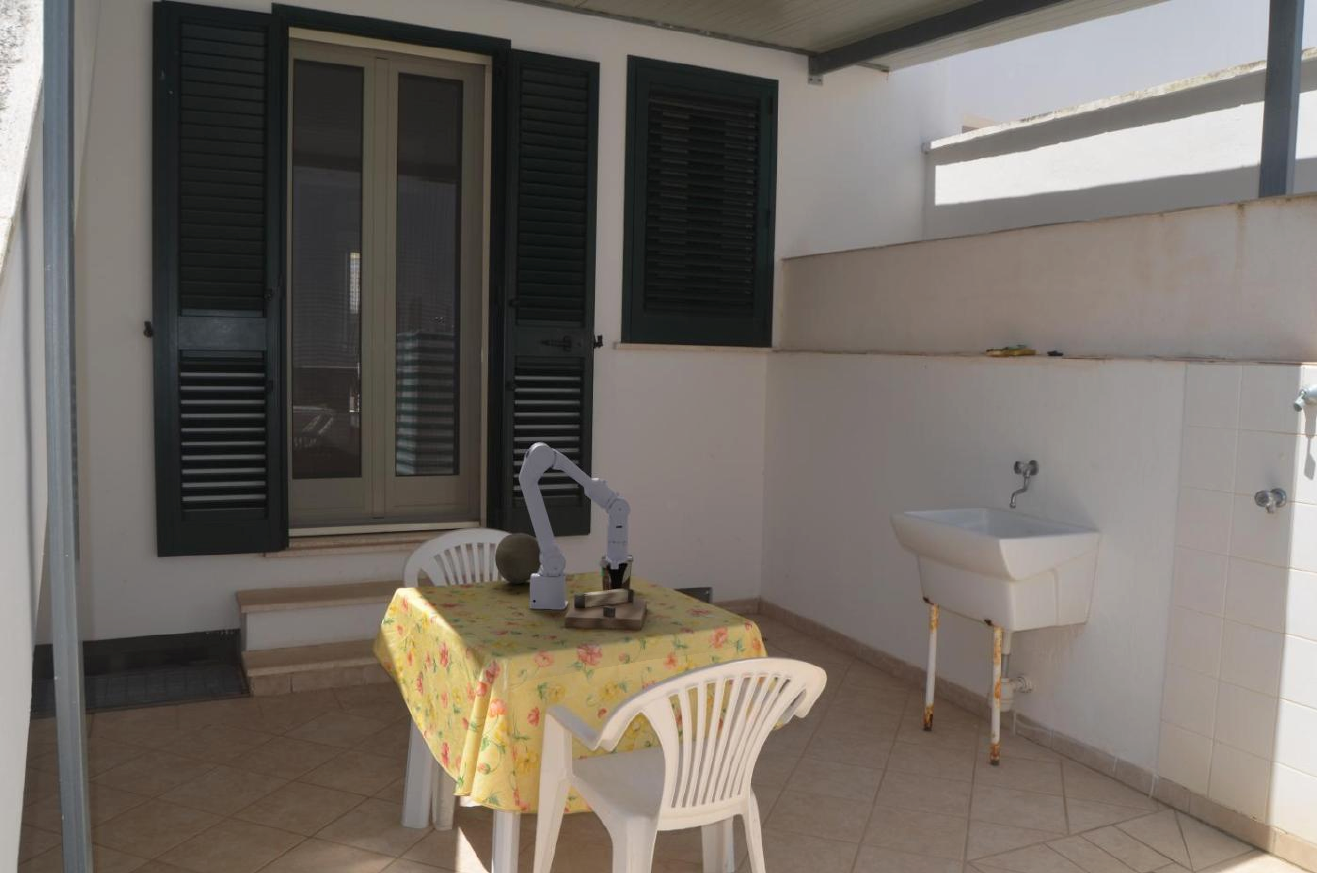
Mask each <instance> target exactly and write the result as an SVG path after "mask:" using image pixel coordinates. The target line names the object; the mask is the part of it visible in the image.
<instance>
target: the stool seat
mask: <svg viewBox="0 0 1317 873" xmlns="http://www.w3.org/2000/svg"><path fill="white" fill-rule="evenodd" d="M647 600H648V599H646V598H633V602H624V603H616V604H608V605H599V606H591V607H584V608H577V607H574V601H573V602H572V603H571V605H570V607H569V609H568V611H567V612H566V614H565V616H564V628H581V629H583V628H585V629H586V628H587V629H609V628H612V629H613V630H615V629H614V628H616V630H619V629H618V628H622V629H621V630H639V629H642V625H643V623H644V618H645V614H646V612H647V609H648V608H647V607H648V606H647V604H648V603H647V602H648V601H647ZM642 622H643V623H642Z"/></svg>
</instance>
